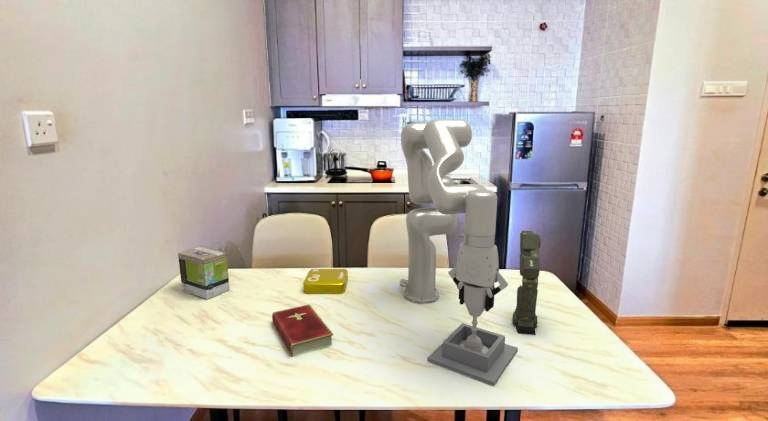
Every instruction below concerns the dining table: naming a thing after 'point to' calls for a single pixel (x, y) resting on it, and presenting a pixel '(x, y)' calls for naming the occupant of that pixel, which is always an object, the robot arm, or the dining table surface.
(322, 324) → the hardcover book
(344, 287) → the element tile
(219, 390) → the dining table surface
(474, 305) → the chalice
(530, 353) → the dining table surface
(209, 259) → the tea box
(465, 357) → the housing
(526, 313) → the mechanical leg
